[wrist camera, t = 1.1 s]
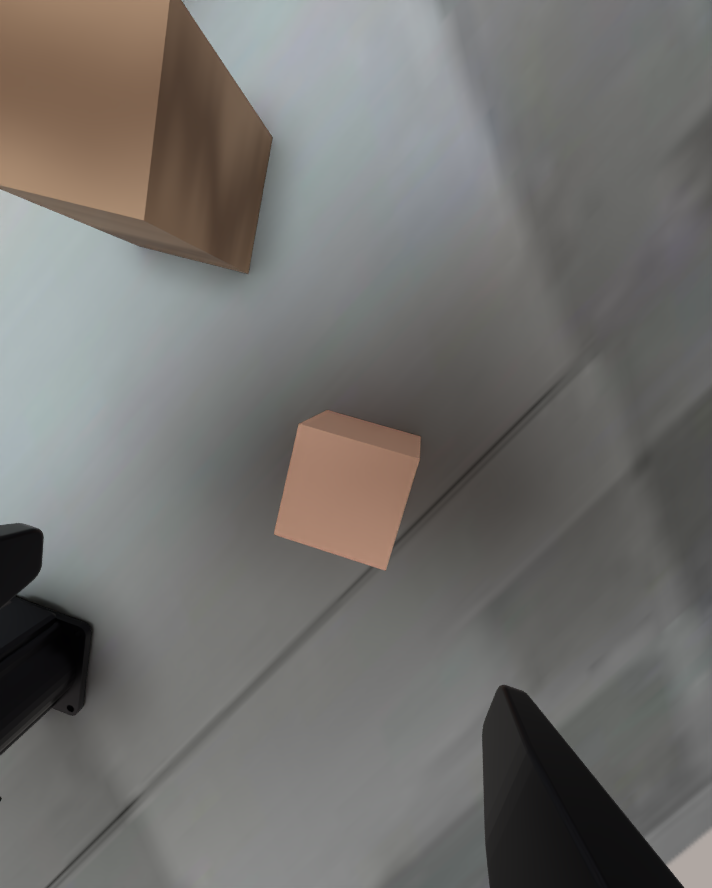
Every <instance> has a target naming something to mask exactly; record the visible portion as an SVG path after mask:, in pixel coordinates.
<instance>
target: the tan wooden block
mask: <svg viewBox="0 0 712 888" xmlns="http://www.w3.org/2000/svg"><path fill="white" fill-rule="evenodd" d="M272 138H273V137H272V136H271V134H270V133H269V131H268V130H267V128H266V127H265V125H264V124H263V122H262V121H261V119H260V118H259V116H258V115H257V113H256V112H255V110H254V109H253V107H252V106H251V104H250V103H249V101H248V100H247V98H246V97H245V95H244V94H243V92H242V91H241V89H240V88H239V86H238V85H237V83H236V82H235V80H234V79H233V77H232V76H231V74H230V73H229V71H228V70H227V68H226V67H225V65H224V64H223V62H222V61H221V59H220V58H219V56H218V55H217V53H216V52H215V50H214V49H213V47H212V46H211V44H210V43H209V41H208V40H207V38H206V37H205V35H204V34H203V32H202V31H201V29H200V28H199V26H198V25H197V23H196V22H195V20H194V19H193V17H192V16H191V14H190V13H189V11H188V10H187V8H186V7H185V5H184V4H183V2H182V1H181V0H0V189H1V190H4V191H6V192H9V193H11V194H13V195H16V196H18V197H21V198H23V199H26V200H28V201H30V202H33V203H35V204H38V205H40V206H43V207H45V208H47V209H50V210H52V211H55V212H57V213H60V214H62V215H65V216H67V217H69V218H72V219H74V220H77V221H79V222H82V223H84V224H86V225H89V226H91V227H94V228H96V229H99V230H101V231H103V232H106V233H108V234H111V235H113V236H116V237H118V238H120V239H123V240H125V241H128V242H130V243H133V244H135V245H137V246H140V247H144V248H148V249H152V250H156V251H160V252H164V253H168V254H172V255H176V256H180V257H184V258H188V259H192V260H196V261H200V262H204V263H208V264H212V265H215V266H219V267H223V268H227V269H231V270H235V271H239V272H243V273H247V274H248V272H249V267H250V261H251V256H252V250H253V244H254V239H255V233H256V228H257V222H258V216H259V211H260V205H261V200H262V194H263V189H264V183H265V177H266V172H267V166H268V161H269V155H270V149H271V144H272Z"/></svg>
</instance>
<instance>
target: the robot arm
mask: <svg viewBox="0 0 712 888" xmlns="http://www.w3.org/2000/svg"><path fill="white" fill-rule="evenodd" d="M43 539H44V536H43V533H42V531H41V530H40V529H38V528H35V527H32V526H29V525H26V524H22V523H15V524H6V525H0V755H1V754H2V753H4V752H5V751H6V750H7V749H8V748H9V747H10V746H11V745H12V744H13V743H14V742H15V741H17V740H18V739H19V738H20V737H21V736H22V735H23V734H24V733H25V732H26V731H27V730H28V729H29V728H31V727H32V726H33V725H34V724H35V723H36V722H37V721H38V720H39V719H40V718H41V717H42V716H43V715H45V714H46V713H47V712H48V711H49V710H50V709H51V708H53V709H56V710H58V711H61V712H63V713H66V714H68V715H72V716H73V715H76V714H77V713H78V712H79V711H80V710H81V709H82V707H83V702H84V693H85V684H86V676H87V667H88V658H89V649H90V640H91V628H90V626H89V625H88V624H87V623H85V622H82V621H80V620H77V619H74V618H72V617H69V616H66V615H63V614H61V613H58V612H55V611H53V610H50V609H47V608H44V607H42V606H39V605H36V604H34V603H31V602H28V601H26V600H23V599H20V598H17V597H15V596H16V595H17V594H18V593H19V592H20V591H21V590H22V589H24V588H25V587H26V586H27V585H28V584H29V583H30V582H32V581H33V580H34V579H35V578H36V576H37V575H38V574H39V572H40V570H41V567H42V555H43ZM482 747H483V786H484V825H485V846H486V857H487V867H488V876H489V885H490V888H684V887H683V886H682V884H681V883H680V882H679V881H678V879H677V878H676V877H675V876H674V874H673V873H672V872H671V871H670V869H669V868H668V867H667V866H666V865H665V863H664V862H663V861H662V860H661V858H660V857H659V856H658V855H657V853H656V852H655V851H654V850H653V848H652V847H651V846H650V845H649V844H648V842H647V841H646V840H645V839H644V837H643V836H642V835H641V834H640V832H639V831H638V830H637V829H636V828H635V826H634V825H633V824H632V823H631V821H630V820H629V819H628V818H627V816H626V815H625V814H624V813H623V811H622V810H621V809H620V808H619V807H618V805H617V804H616V803H615V802H614V800H613V799H612V798H611V797H610V795H609V794H608V793H607V792H606V790H605V789H604V788H603V787H602V786H601V784H600V783H599V782H598V781H597V779H596V778H595V777H594V776H593V774H592V773H591V772H590V771H589V770H588V768H587V767H586V766H585V765H584V763H583V762H582V761H581V760H580V758H579V757H578V756H577V755H576V753H575V752H574V751H573V750H572V749H571V747H570V746H569V745H568V744H567V742H566V741H565V740H564V739H563V737H562V736H561V735H560V734H559V733H558V731H557V730H556V729H555V728H554V726H553V725H552V724H551V723H550V721H549V720H548V719H547V718H546V716H545V715H544V714H543V713H542V712H541V710H540V709H539V708H538V707H537V705H536V704H535V703H534V702H533V700H532V699H531V698H530V697H529V696H528V695H527V693H525V692H524V691H522V690H519V689H516V688H513V687H510V686H507V685H501V686H500V687H499V688H498V689H497V691H496V693H495V696H494V698H493V701H492V703H491V706H490V708H489V711H488V713H487V716H486V718H485V721H484V725H483V732H482ZM1 799H2V798H1V797H0V801H1Z"/></svg>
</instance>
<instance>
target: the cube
mask: <svg viewBox="0 0 712 888" xmlns="http://www.w3.org/2000/svg"><path fill="white" fill-rule="evenodd" d="M420 444H421V436H417V435H414V434H410V433H407V432H403V431H400V430H396V429H393V428H389V427H386V426H382V425H378V424H375V423H371V422H368V421H364V420H361V419H357V418H354V417H350V416H347V415H343V414H340V413H336V412H333V411H329V410H326V411H324V412H322V413H320V414H318V415H316V416H314V417H312V418H310V419H308V420H305V421H303V422H301V423H299V425H298V429H297V434H296V438H295V442H294V447H293V451H292V456H291V460H290V465H289V469H288V473H287V478H286V482H285V487H284V491H283V496H282V500H281V504H280V509H279V513H278V518H277V522H276V527H275V531H274V535H277V536H280V537H283V538H286V539H289V540H292V541H295V542H298V543H302V544H305V545H308V546H311V547H314V548H317V549H320V550H323V551H326V552H329V553H332V554H335V555H339V556H342V557H345V558H348V559H351V560H354V561H357V562H360V563H363V564H366V565H369V566H373V567H376V568H379V569H382V570H385V571H386V568H387V565H388V561H389V558H390V555H391V552H392V548H393V545H394V542H395V539H396V535H397V532H398V529H399V525H400V522H401V519H402V516H403V512H404V509H405V506H406V503H407V499H408V496H409V493H410V490H411V486H412V483H413V480H414V477H415V473H416V470H417V467H418V464H419V460H420Z"/></svg>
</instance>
